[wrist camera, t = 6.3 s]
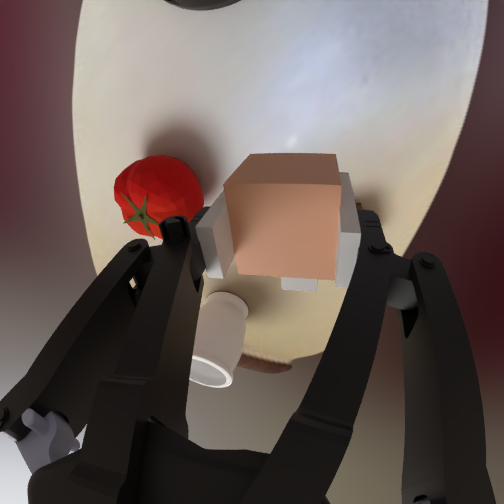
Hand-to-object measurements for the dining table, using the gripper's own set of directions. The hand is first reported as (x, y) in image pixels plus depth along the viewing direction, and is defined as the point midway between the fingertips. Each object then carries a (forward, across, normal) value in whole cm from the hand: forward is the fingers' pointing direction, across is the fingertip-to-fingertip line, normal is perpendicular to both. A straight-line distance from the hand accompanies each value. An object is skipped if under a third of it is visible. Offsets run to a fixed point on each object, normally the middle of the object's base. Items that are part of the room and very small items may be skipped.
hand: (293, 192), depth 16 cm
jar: (+18, -15, -31) cm, 39 cm away
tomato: (+18, -19, -6) cm, 27 cm away
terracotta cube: (0, 0, 0) cm, 0 cm away
